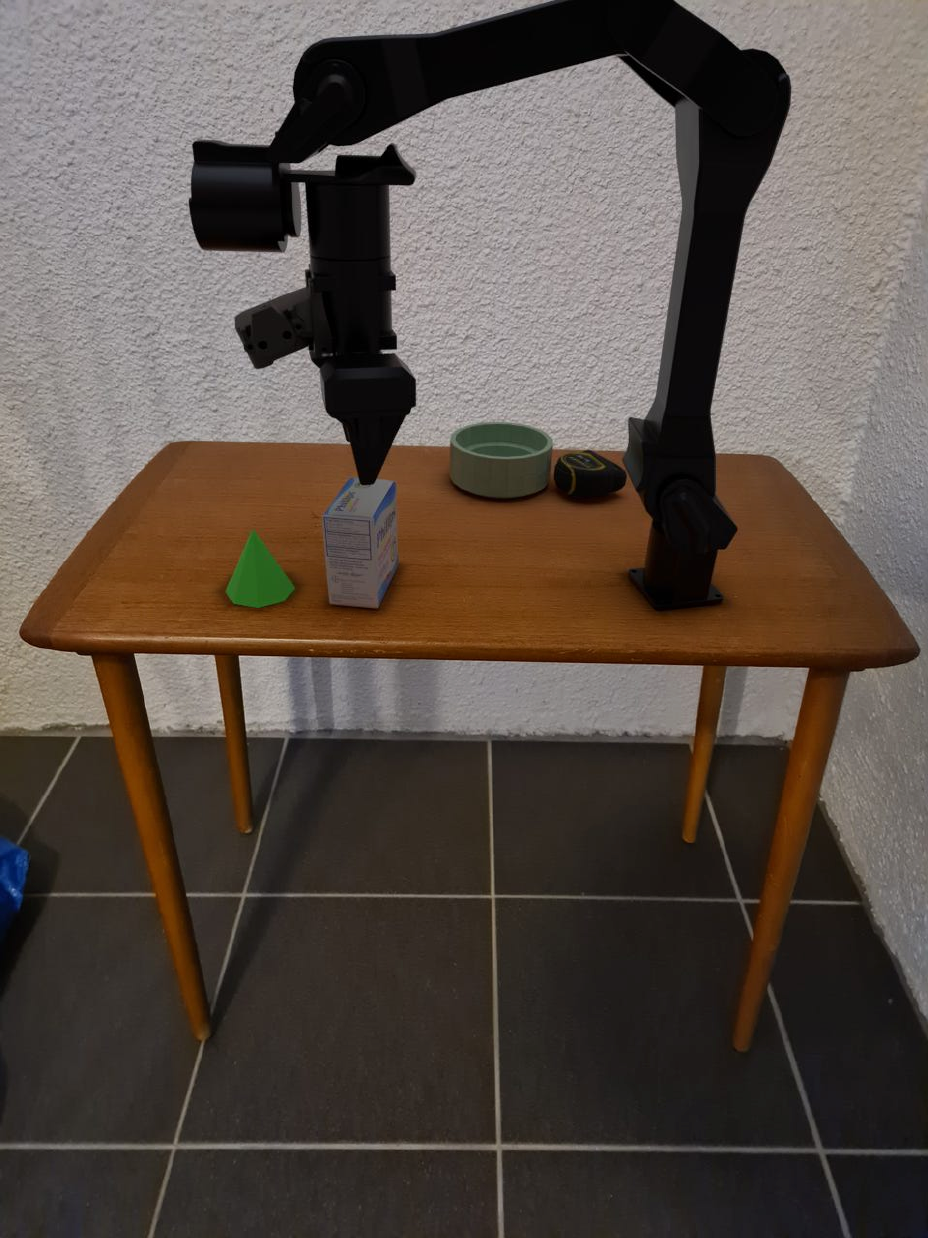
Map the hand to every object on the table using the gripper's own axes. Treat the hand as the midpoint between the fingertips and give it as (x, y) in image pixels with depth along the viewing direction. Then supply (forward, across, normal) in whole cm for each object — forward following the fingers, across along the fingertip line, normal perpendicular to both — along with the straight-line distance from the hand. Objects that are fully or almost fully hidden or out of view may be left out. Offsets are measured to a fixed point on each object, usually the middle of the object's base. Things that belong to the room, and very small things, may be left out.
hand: (359, 461), depth 67 cm
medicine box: (+12, 0, 0) cm, 12 cm away
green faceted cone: (+12, -1, -9) cm, 15 cm away
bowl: (+12, -20, +18) cm, 29 cm away
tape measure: (+12, -16, +27) cm, 33 cm away
